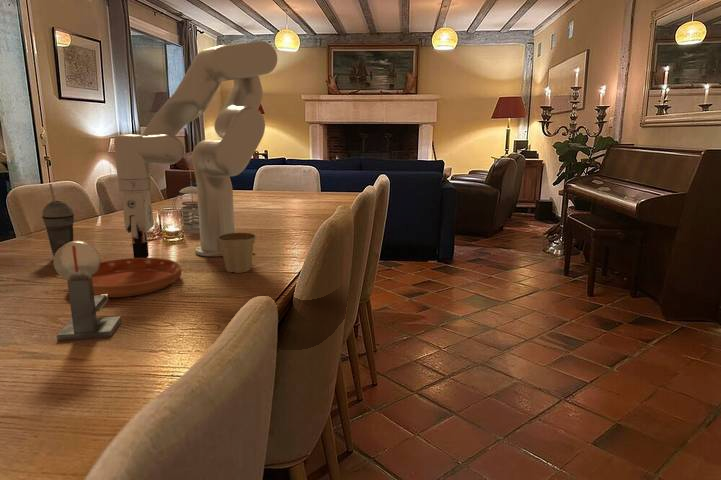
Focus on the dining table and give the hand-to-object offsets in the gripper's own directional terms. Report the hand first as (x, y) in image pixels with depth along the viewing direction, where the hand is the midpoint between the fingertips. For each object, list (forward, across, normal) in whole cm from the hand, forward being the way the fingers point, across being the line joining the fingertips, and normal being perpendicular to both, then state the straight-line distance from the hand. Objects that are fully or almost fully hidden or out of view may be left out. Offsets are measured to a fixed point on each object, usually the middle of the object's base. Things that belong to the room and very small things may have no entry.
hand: (141, 257), depth 121 cm
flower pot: (+2, -8, -24) cm, 26 cm away
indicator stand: (+2, -41, -1) cm, 41 cm away
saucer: (+3, -16, 0) cm, 16 cm away
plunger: (0, -36, 0) cm, 36 cm away
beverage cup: (+3, +11, +22) cm, 25 cm away
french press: (+2, +46, -7) cm, 46 cm away
